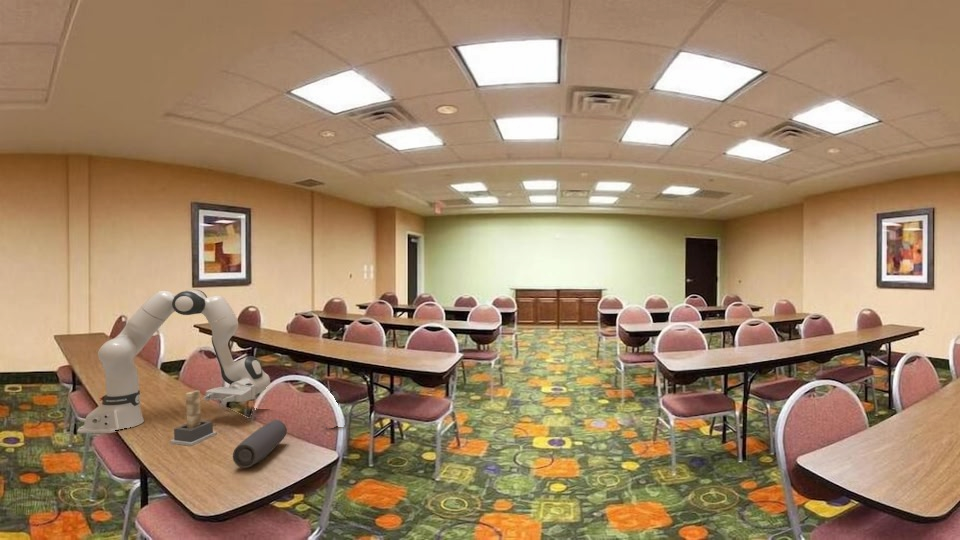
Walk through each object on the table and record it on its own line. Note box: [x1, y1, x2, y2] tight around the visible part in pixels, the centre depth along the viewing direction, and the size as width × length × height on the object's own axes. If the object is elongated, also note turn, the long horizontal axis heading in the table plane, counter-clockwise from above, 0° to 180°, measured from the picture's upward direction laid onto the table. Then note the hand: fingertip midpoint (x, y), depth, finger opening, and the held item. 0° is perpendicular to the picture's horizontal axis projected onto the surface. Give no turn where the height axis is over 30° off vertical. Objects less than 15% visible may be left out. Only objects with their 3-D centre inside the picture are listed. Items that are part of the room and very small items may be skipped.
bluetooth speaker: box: [232, 419, 288, 469], centre depth 163 cm, size 23×9×10 cm, turn 178°
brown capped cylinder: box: [327, 380, 341, 406], centre depth 191 cm, size 7×7×20 cm
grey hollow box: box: [169, 419, 218, 447], centre depth 180 cm, size 12×10×6 cm
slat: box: [185, 390, 202, 429], centre depth 180 cm, size 4×2×18 cm, turn 165°
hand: (213, 400), depth 189 cm, fingers open, 8 cm apart
